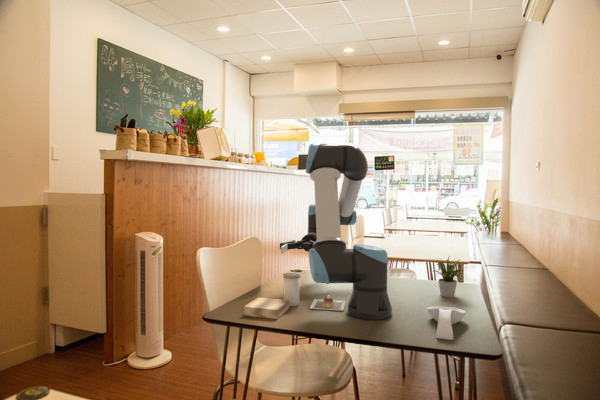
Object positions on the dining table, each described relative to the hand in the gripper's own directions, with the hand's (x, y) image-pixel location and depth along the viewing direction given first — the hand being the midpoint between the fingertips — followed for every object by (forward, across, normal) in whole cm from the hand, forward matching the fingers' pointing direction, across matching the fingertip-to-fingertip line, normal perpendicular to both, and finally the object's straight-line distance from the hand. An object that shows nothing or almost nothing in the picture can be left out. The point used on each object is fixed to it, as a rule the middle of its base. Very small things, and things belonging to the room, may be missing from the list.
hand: (298, 251), depth 158 cm
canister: (+10, 0, -18) cm, 20 cm away
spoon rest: (+20, -53, -17) cm, 59 cm away
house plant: (-18, -56, -18) cm, 62 cm away
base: (+22, +5, -17) cm, 28 cm away
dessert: (+8, -14, -18) cm, 24 cm away
